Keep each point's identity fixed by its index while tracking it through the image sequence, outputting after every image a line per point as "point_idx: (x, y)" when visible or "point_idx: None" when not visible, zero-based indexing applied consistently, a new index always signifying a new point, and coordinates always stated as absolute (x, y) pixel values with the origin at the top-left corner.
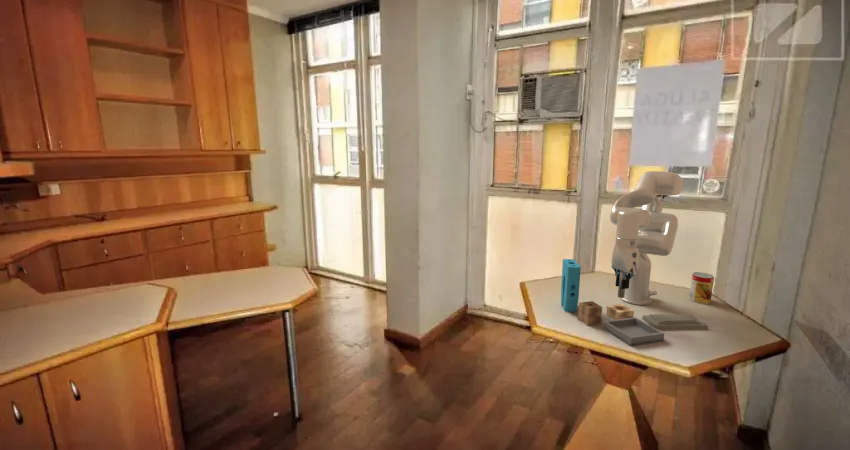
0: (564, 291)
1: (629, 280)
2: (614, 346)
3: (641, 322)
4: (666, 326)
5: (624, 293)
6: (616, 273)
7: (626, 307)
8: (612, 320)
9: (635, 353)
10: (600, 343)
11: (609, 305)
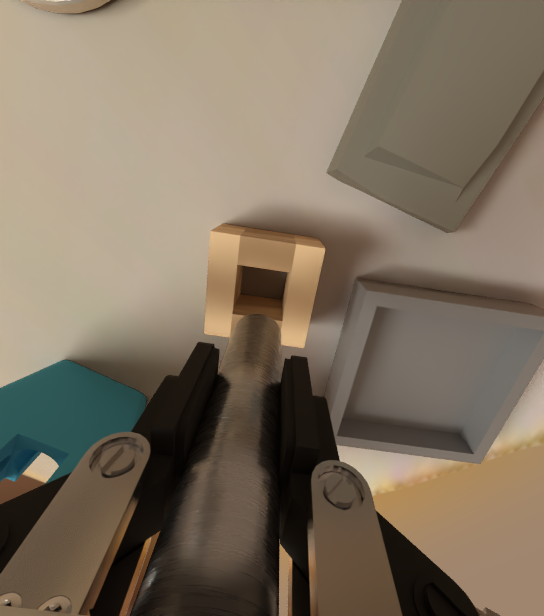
0: (22, 469)
1: (316, 425)
2: (428, 472)
3: (424, 312)
4: (495, 167)
5: (278, 343)
6: (116, 573)
7: (268, 250)
8: (335, 410)
9: (497, 456)
10: (389, 489)
11: (205, 318)
